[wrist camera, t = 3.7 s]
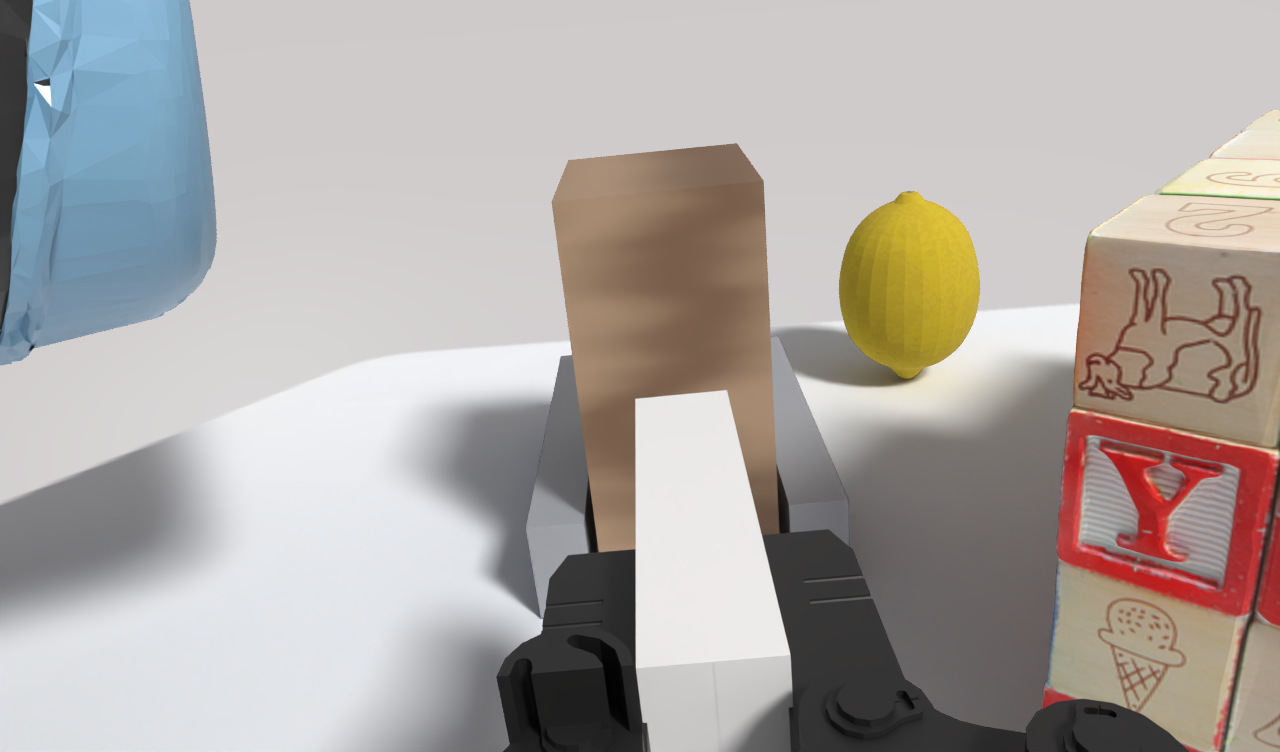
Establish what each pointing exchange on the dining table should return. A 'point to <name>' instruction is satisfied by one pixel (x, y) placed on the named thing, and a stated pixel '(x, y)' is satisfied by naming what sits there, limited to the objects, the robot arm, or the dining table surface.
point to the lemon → (909, 284)
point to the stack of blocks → (1179, 459)
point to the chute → (566, 496)
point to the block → (666, 309)
